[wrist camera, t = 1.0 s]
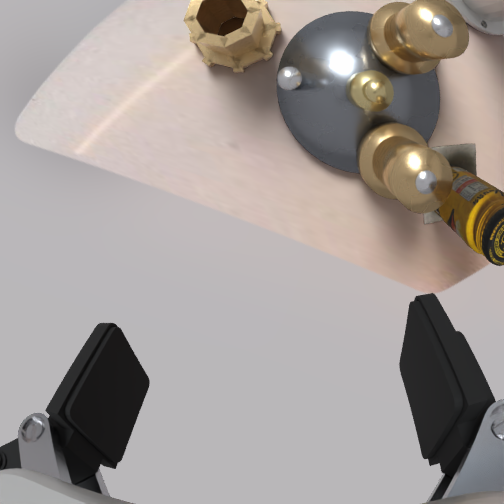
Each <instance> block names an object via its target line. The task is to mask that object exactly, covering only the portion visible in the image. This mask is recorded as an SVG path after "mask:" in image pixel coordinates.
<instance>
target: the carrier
mask: <svg viewBox="0 0 504 504" xmlns="http://www.w3.org/2000/svg"><path fill="white" fill-rule="evenodd" d="M468 42H469V32H468V28H467V25H466V22H465V20H464V18H463V17H462V15H461V14H460V12H459V11H458V10H457V9H456V8H455V7H454V6H453V5H452V4H450V3H449V2H448V1H446V0H416V1H414V2H413V3H411V4H409V3H404V2H393V3H389V4H387V5H385V6H383V7H382V8H380V9H379V10H378V11H376V12H375V13H374V14H370V13H364V12H353V11H346V12H337V13H333V14H329V15H325V16H323V17H320V18H318V19H316V20H314V21H312V22H311V23H309V24H308V25H306V26H305V27H304V28H302V29H301V30H300V31H299V32H298V33H297V34H296V35H295V36H294V37H293V39H292V40H291V41H290V43H289V44H288V46H287V47H286V49H285V51H284V53H283V56H282V58H281V61H280V64H279V68H278V74H277V95H278V102H279V106H280V109H281V113H282V115H283V117H284V120H285V122H286V124H287V126H288V127H289V129H290V131H291V132H292V134H293V135H294V137H295V138H296V139H297V140H298V142H299V143H300V144H301V145H302V146H303V147H304V148H305V149H306V150H307V151H308V152H310V153H311V154H312V155H313V156H315V157H316V158H318V159H319V160H321V161H322V162H324V163H326V164H328V165H330V166H332V167H335V168H338V169H341V170H344V171H348V172H353V173H360V175H361V177H362V178H363V180H364V181H365V182H366V183H367V185H368V186H369V187H370V188H371V189H372V190H373V191H374V192H375V193H377V194H378V195H380V196H382V197H385V198H389V199H398V200H399V201H400V202H401V203H402V204H403V205H404V206H405V207H406V208H407V209H409V210H411V211H413V212H416V213H429V212H432V211H434V210H436V209H438V208H439V207H440V206H441V205H443V203H444V202H445V201H446V200H447V198H448V196H449V195H450V192H451V189H452V184H453V174H452V169H451V166H450V164H449V162H448V161H447V159H446V158H445V157H444V156H443V155H442V154H441V153H439V152H437V151H435V150H433V149H431V148H429V147H428V145H427V141H428V140H429V138H430V137H431V135H432V133H433V130H434V128H435V126H436V122H437V119H438V114H439V109H440V92H439V85H438V80H437V76H436V73H435V70H434V68H435V67H436V66H437V65H438V63H439V62H440V60H441V59H447V58H455V57H458V56H460V55H461V54H462V53H464V51H465V50H466V48H467V46H468Z"/></svg>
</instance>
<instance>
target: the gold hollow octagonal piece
mask: <svg viewBox="0 0 504 504" xmlns="http://www.w3.org/2000/svg"><path fill="white" fill-rule="evenodd" d="M267 8H268V3H267V2H266V1H264V0H258V1H255V0H191V2H190V5H189V7H188V10H187V13H186V15H185V18H184V22H185V23H186V25H187V26H188V28H189V30H190V31H191V33H189V35H190V41H191V42H193V43H194V44H195V43H197V45H198V47H199V48H200V50H201V52H202V53H203V55H204V57H205V58H204V59H203V60H202V61H203V62H204V63H205V64H207V65H208V66H211V67H213V66H214V64H218V65H222V66H226V67H230V68H233V70H234V72H235V73H242V72H245V70H244V68H245V67H247V66H250V65H252V64H254V63H256V62H258V61H260V60H262V59H265V60H266V61H268V60H269V59H270V58H271V57H272V56H273V53H272V52H270V50H271V47H272V44H273V42H274V39H275V36H276V34H281V27H280V23H275V22H274V20H273V19H272V17H271V16H270V14H269V12H268V11H267ZM234 17H238V18H242V19H245V20H244V23H243V25H242V28H239V29H237V30H235V31H233V32H231V33H229V34H227V35H225V36H219V35H218V32H219V29H220V27H221V24H222V23H224V22H226V21H228V20H230V19H232V18H234Z"/></svg>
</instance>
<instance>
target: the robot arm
mask: <svg viewBox="0 0 504 504" xmlns="http://www.w3.org/2000/svg"><path fill="white" fill-rule="evenodd" d="M446 1H448V2H449V3H450V4H452V5H453V6H454V7H455V8H456V9H457V10H458V11H459V12H460V14H461V15H462V17H463V18H464V20H465V22H466V23H468V24H469V25H470V26H472V27H474V28H475V29H477V30H479V31H481V32H484V33H486V34H490V35H504V0H446ZM400 372H401V376H402V379H403V382H404V386H405V389H406V393H407V396H408V400H409V403H410V407H411V411H412V415H413V419H414V423H415V427H416V431H417V435H418V440H419V444H420V448H421V453H422V456H423V458H424V459H428V460H429V465H430V466H431V465H434V464H438V463H440V466H441V471H442V473H443V475H442V477H441V479H440V480H439V482H438V484H437V485H436V487H435V489H434V491H433V492H432V494H431V496H430V497H429V499H428V500H427V502H426V503H423V504H504V399H503V400H499V401H497V402H496V401H495V398H494V396H493V394H492V392H491V390H490V387H489V385H488V383H487V381H486V378H485V376H484V374H483V372H482V370H481V368H480V366H479V364H478V362H477V360H476V358H475V356H474V354H473V352H472V350H471V348H470V346H469V344H468V343H467V341H466V339H465V337H464V335H463V334H462V333H461V332H459V331H455V329H454V327H453V325H452V323H451V322H450V320H449V318H448V316H447V314H446V313H445V311H444V309H443V307H442V306H441V304H440V302H439V300H438V299H437V297H436V295H435V294H433V293H431V294H425V295H420V296H416V298H415V300H414V301H413V302H410V305H409V311H408V317H407V324H406V330H405V336H404V342H403V347H402V352H401V357H400ZM148 388H149V378H148V376H147V374H146V373H145V371H144V369H143V368H142V366H141V364H140V362H139V361H138V359H137V357H136V356H135V354H134V352H133V350H132V349H131V347H130V345H129V343H128V341H127V339H126V338H125V336H124V334H123V332H122V330H121V329H120V328H119V327H117V325H116V324H114V323H100V324H98V325H97V326H96V328H95V329H94V331H93V333H92V334H91V335H90V337H89V338H88V340H87V341H86V343H85V345H84V346H83V348H82V349H81V351H80V353H79V354H78V356H77V357H76V359H75V361H74V362H73V364H72V366H71V367H70V369H69V371H68V372H67V374H66V375H65V377H64V379H63V381H62V382H61V384H60V386H59V387H58V389H57V391H56V393H55V394H54V396H53V398H52V400H51V401H50V403H49V405H48V407H47V408H46V412H47V413H48V414H49V415H50V416H49V418H47V417H46V416H45V415H44V414H42V413H34V414H31V415H30V416H28V417H27V418H26V419H25V420H24V421H23V422H22V423H21V425H20V427H19V431H18V438H17V439H15V440H13V441H12V442H10V443H8V444H5V445H3V446H1V447H0V504H133V503H129V502H126V501H122V500H119V499H115V498H112V497H110V495H109V493H108V490H107V488H106V485H105V483H104V480H103V478H102V475H101V472H100V469H99V467H100V464H102V465H103V466H106V467H110V468H114V469H116V466H117V463H118V462H120V461H121V460H122V458H123V455H124V452H125V449H126V446H127V444H128V441H129V438H130V436H131V433H132V430H133V427H134V425H135V422H136V419H137V417H138V414H139V411H140V409H141V406H142V404H143V401H144V398H145V396H146V393H147V391H148Z"/></svg>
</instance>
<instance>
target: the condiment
mask: <svg viewBox="0 0 504 504" xmlns="http://www.w3.org/2000/svg"><path fill="white" fill-rule="evenodd" d="M431 149H433V150H435V151H437V152H439V153H441V154H442V155H443V156H444V157H445V158H446V159H447V161H448V162H449V164H450V166H451V169H452V174H453V184H452V189H451V192H450V195H449V196H448V198H447V200H446V201H445V202H444V203H443V205H441V206H440V207H439V208H438V209H436V210H434V211H432V212H429V213H424V224H429V223H434V222H438V221H442V220H444V222H445V223H446V224H447V225H448V226H450V227H451V228H452V229H453V230H454V231H455V232H456V233H457V234H458V235H459V236H460V237H461V238H462V239H463V240H464V241H465V242H466V244H467V245H468V246H469V247H470V248H472V249H473V250H474V251H475V252H477V253H479V254H482V255H483V256H485V257H486V258H487V259H488V261H489V262H491V263H492V264H495V265H498V266H501V265H504V192H502V191H501V190H499V189H497V188H496V187H494V186H492V185H490V184H489V183H487V182H485V181H484V180H482V179H480V178H479V177H477V176H476V174H477V173H476V148H475V143H474V144H461V145H450V146H441V147H432V148H431ZM466 170H467V171H466Z"/></svg>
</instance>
